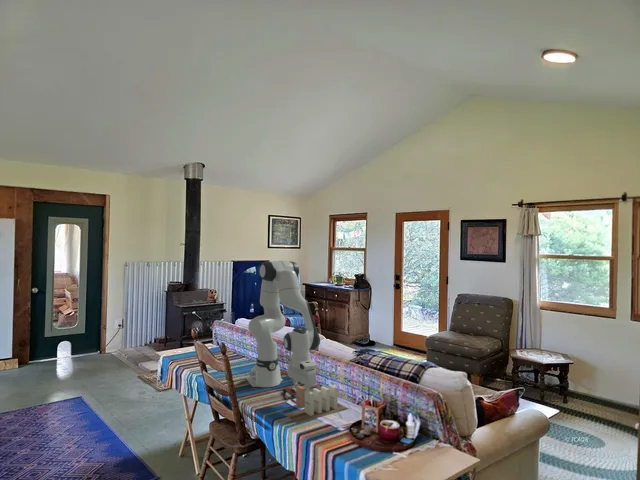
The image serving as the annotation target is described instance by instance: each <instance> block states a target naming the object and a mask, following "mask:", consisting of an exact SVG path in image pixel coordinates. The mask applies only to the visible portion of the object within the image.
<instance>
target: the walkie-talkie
mask: <svg viewBox="0 0 640 480" xmlns="http://www.w3.org/2000/svg"><path fill="white" fill-rule="evenodd" d="M282 392H283V394H284V395H285V396H284V398H285V399H287V401H289V400H290V401H292V402H293V403H294V404H296V400H294V399H296V388H294V385H291V386H285V387H284V388H283V389H282Z"/></svg>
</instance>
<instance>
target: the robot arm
mask: <svg viewBox="0 0 640 480" xmlns="http://www.w3.org/2000/svg"><path fill="white" fill-rule="evenodd" d="M299 274H300V268H299V265H298V263H297V262H295V261H287V260H273V261H270V260H268V261H264V262H262V263H261V265H260V267H259V277H260V278H261V279H262V280H261V285H260V287H261V288H260V294H259V295H260V296H259V304H260V306H261V307H263V313H264V314H262V315H257V316H256V317H253V318H252V319H251V320H250V321H249V322H248V325H247V327H248V331H249V333H250V334H251V335H252V336H253V337H254V339H255V342H256V347H257V357H256V358H255V360H256V362H255V365H254V366H253V367H252V368H250V371H249V376H247V377H246V379H245V380H247V381H246V382H248V384H250V386H251V387H254V388H257V387H258V388H272V387H277V386H279V385H280V384H281V382H283V378H282V377H281V366H280V365H279V358H278V344H277V342H276V341H275V340H274V339H273V334H274V333H277V332H278V331H280V330H282V329H283V328H284V327H285V326H286V322H287V321H286V317H285V316H284V315H283V313H282V311H281V305H280V303H281V304H282V305H283V306H284V307H286V308H288V309H290V310H294V311H297V312H299V313H300V314H301V315H302V317H303V321H304V324H305V327H303V326H297V327H294V328H293V329H292V330H291V331H290V332H289V331H288V332H287V333H286V334H285V335H284V336H283V348H284V349H285V350H287V352H292V354H291V358H290V359H289V363H288V365H287V375H288V378H290V379H291V380H292V382H293V386H294V388H296V386H300V385H299V383H301V384H303V385H304V386H305V387H304V388H305V390H304V391H306V390H309V391H310V389H311V388H312V387H314V386H316V385H317V371H316V368H317V364H316V362H314V361H313V359H312V358H311V354H310V351H315V350H317V348H318V347H319V346H320V345H321V337H320V335H319V332H318V329H317V326H316V322H315V319H314V316H313V313H312V311H311V306H310V304H309V302H308V300H307V299H306V298H305V297H304V296H303V295H302V293H301V289H300V284H299V283H300V282H299V279H298V276H299Z"/></svg>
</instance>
